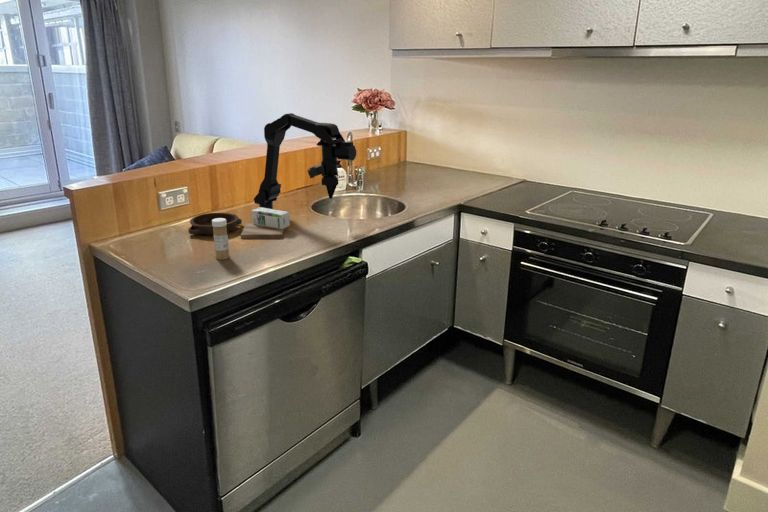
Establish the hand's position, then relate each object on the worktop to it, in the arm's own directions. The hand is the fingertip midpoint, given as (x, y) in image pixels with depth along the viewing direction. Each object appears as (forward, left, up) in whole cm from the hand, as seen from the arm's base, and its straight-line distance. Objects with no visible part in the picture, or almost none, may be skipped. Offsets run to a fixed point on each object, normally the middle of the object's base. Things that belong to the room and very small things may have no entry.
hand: (330, 198), depth 205 cm
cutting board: (+4, -26, -12) cm, 29 cm away
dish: (+2, -45, -13) cm, 46 cm away
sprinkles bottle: (+32, -36, -13) cm, 50 cm away
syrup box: (+4, -17, -8) cm, 19 cm away
